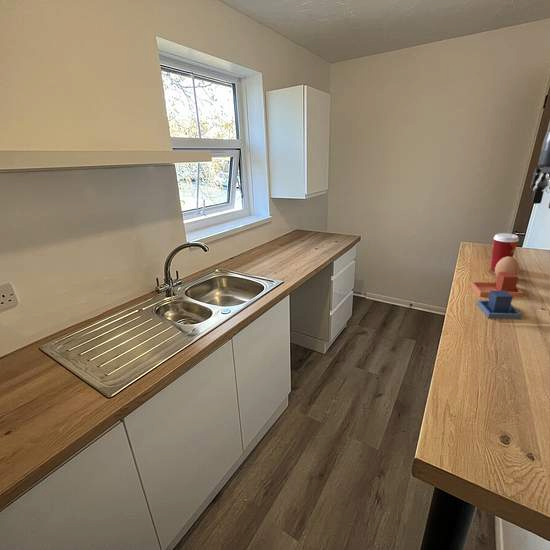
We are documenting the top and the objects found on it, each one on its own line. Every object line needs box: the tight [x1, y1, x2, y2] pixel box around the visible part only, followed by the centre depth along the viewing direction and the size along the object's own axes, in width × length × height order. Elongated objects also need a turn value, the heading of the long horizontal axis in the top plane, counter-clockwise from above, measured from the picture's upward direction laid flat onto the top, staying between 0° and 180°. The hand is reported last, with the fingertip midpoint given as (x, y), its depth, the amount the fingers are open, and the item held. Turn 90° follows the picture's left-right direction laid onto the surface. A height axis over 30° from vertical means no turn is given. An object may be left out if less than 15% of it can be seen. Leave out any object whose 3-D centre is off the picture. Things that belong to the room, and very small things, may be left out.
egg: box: [494, 256, 520, 278], centre depth 107 cm, size 7×7×9 cm
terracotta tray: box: [470, 281, 524, 298], centre depth 101 cm, size 12×8×2 cm
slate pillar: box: [487, 290, 513, 313], centre depth 88 cm, size 4×4×6 cm
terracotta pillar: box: [495, 272, 519, 292], centre depth 99 cm, size 4×4×6 cm
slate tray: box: [476, 299, 523, 320], centre depth 89 cm, size 8×8×2 cm
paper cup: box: [490, 232, 520, 272], centre depth 114 cm, size 8×8×14 cm
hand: (544, 205), depth 90 cm, fingers open, 8 cm apart
